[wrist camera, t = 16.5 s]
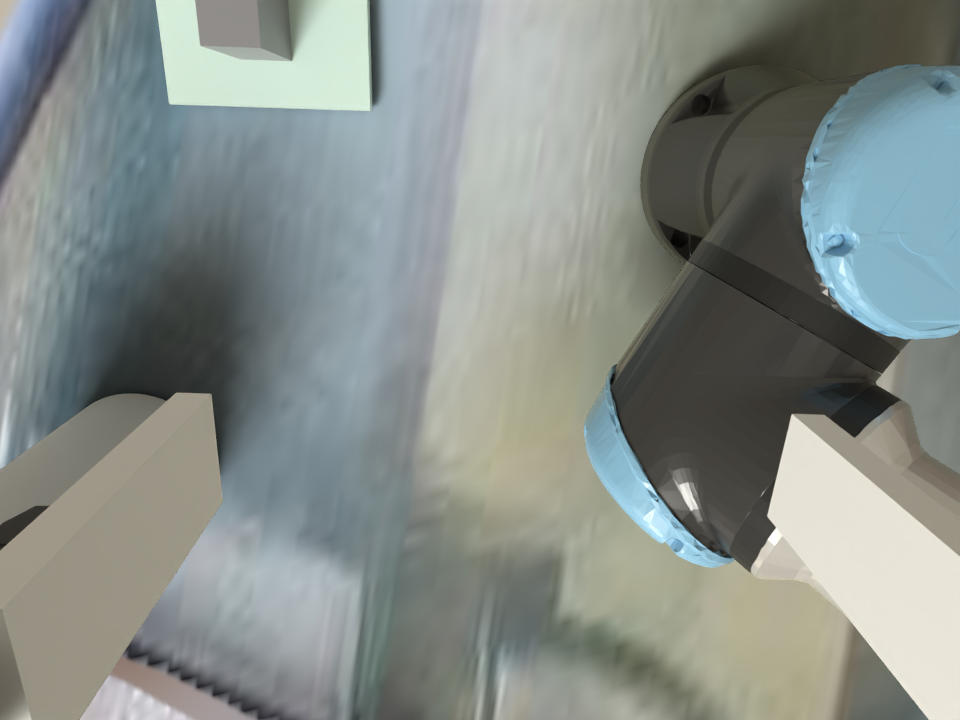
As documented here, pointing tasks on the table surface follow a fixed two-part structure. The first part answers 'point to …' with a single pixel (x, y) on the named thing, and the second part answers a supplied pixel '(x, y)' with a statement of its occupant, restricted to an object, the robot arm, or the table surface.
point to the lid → (267, 53)
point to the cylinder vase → (70, 452)
